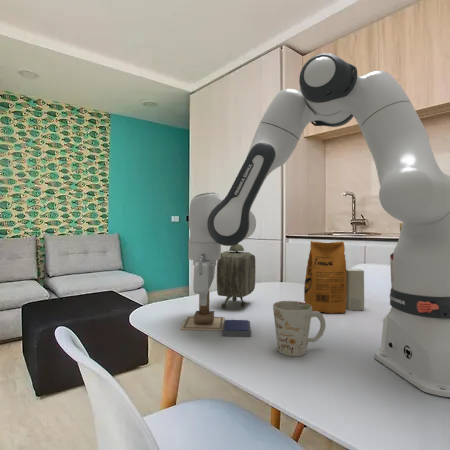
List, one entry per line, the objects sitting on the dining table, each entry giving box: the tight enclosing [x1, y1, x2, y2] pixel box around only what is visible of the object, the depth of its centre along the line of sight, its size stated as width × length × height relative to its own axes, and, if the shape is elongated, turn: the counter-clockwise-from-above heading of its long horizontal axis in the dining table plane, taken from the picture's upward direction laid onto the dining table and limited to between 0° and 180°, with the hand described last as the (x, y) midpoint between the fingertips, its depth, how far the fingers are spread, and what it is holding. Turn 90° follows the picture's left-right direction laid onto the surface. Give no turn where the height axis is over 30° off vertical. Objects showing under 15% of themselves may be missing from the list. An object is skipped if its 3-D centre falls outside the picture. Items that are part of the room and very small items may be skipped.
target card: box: [180, 315, 226, 331], centre depth 91 cm, size 11×11×1 cm
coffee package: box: [303, 240, 347, 315], centre depth 107 cm, size 10×12×22 cm
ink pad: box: [221, 319, 252, 338], centre depth 86 cm, size 9×7×2 cm
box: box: [346, 268, 365, 311], centre depth 109 cm, size 5×4×13 cm
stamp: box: [193, 290, 215, 324], centre depth 91 cm, size 5×5×8 cm
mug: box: [272, 300, 326, 357], centre depth 74 cm, size 8×13×10 cm, turn 111°
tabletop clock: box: [216, 243, 256, 309], centre depth 111 cm, size 14×9×25 cm, turn 160°
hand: (204, 303), depth 91 cm, fingers closed on stamp, 3 cm apart
